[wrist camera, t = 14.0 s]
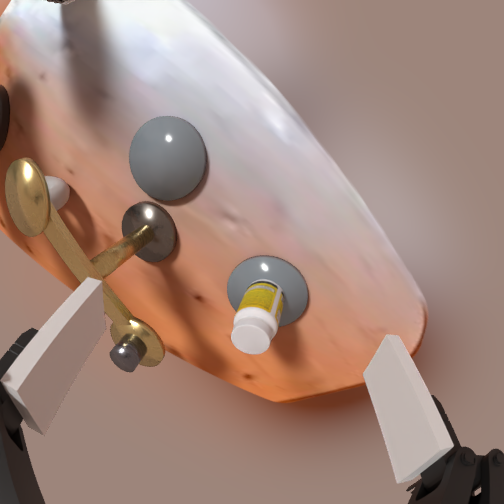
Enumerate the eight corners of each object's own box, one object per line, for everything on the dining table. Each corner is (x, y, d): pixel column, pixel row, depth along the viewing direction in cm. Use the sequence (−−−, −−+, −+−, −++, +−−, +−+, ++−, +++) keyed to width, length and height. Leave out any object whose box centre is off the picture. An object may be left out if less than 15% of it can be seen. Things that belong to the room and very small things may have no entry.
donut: (44, 189, 38) (-1, 208, 29) (45, 169, 36) (-2, 186, 27) (82, 203, 37) (33, 227, 28) (83, 181, 35) (32, 202, 27)
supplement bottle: (239, 289, 36) (217, 332, 28) (268, 271, 34) (252, 314, 26) (262, 316, 37) (247, 362, 29) (293, 300, 35) (283, 347, 27)
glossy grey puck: (147, 207, 35) (144, 209, 34) (123, 134, 31) (120, 135, 31) (217, 186, 32) (215, 188, 31) (191, 103, 28) (188, 102, 27)
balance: (163, 315, 42) (105, 392, 27) (97, 149, 33) (-3, 178, 18) (209, 311, 39) (155, 402, 25) (142, 125, 30) (31, 143, 16)
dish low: (242, 326, 39) (240, 330, 38) (218, 262, 36) (216, 265, 35) (314, 319, 36) (314, 322, 35) (298, 248, 32) (297, 251, 32)
